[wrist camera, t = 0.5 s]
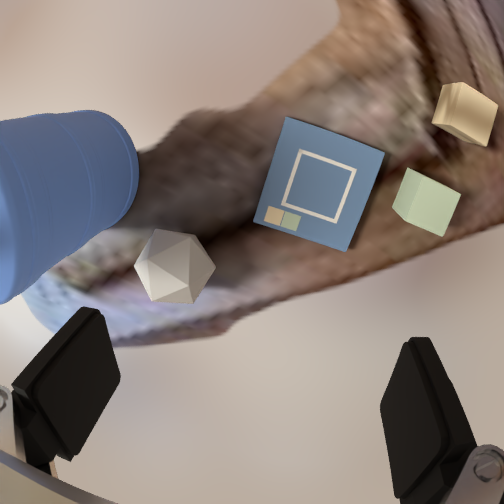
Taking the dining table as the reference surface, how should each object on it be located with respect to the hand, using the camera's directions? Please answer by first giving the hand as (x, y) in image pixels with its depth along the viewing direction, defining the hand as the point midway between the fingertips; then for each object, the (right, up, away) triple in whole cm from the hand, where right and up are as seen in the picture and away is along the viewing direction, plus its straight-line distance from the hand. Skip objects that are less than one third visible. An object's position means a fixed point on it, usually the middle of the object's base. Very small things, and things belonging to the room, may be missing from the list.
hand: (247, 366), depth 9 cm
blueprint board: (+7, +11, +25) cm, 28 cm away
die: (-8, +3, +31) cm, 32 cm away
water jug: (-21, +14, +28) cm, 37 cm away
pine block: (+23, +19, +20) cm, 36 cm away
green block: (+19, +10, +24) cm, 32 cm away
